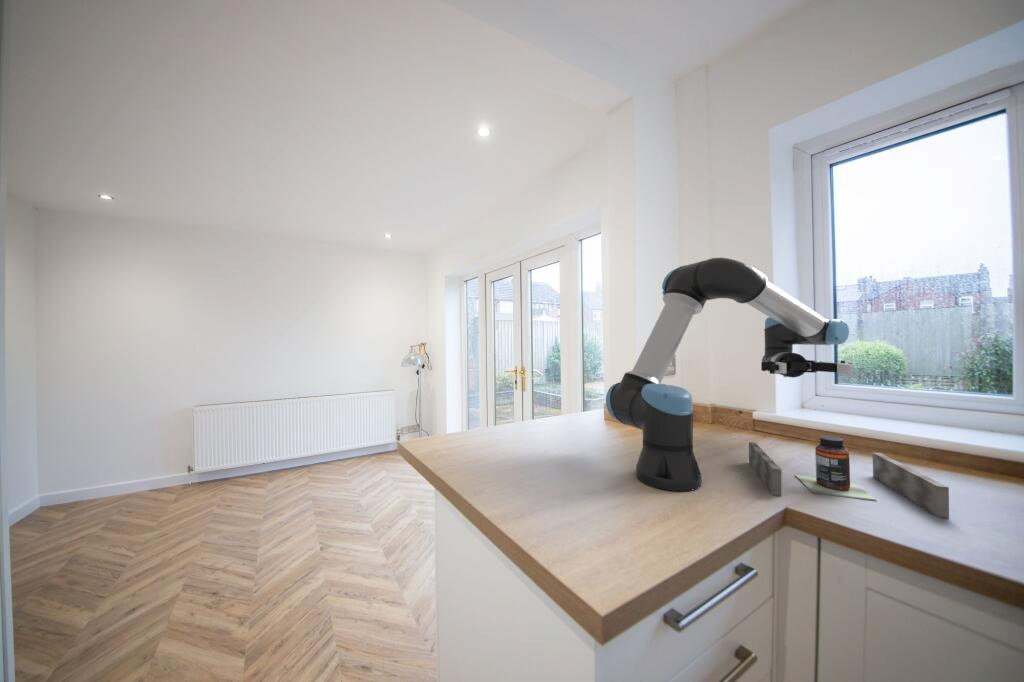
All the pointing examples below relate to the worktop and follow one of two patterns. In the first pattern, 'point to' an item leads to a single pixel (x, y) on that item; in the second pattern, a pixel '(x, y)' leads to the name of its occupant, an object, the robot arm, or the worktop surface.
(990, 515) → the worktop surface
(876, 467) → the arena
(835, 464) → the supplement bottle
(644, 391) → the robot arm
